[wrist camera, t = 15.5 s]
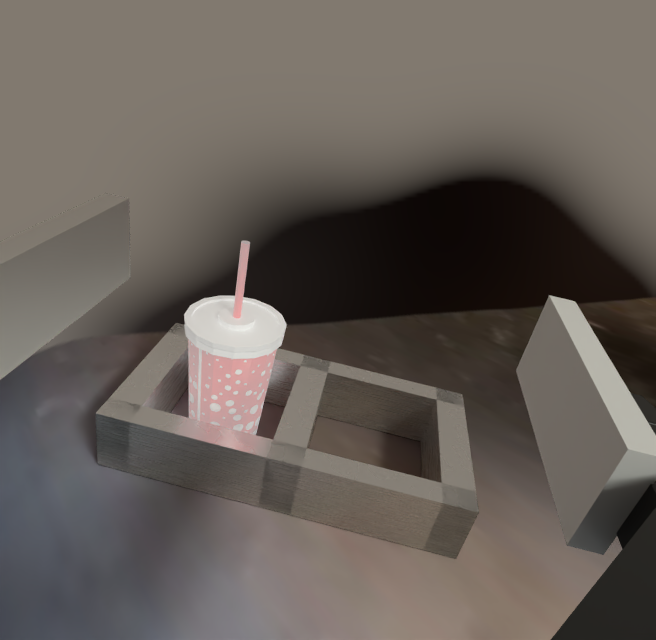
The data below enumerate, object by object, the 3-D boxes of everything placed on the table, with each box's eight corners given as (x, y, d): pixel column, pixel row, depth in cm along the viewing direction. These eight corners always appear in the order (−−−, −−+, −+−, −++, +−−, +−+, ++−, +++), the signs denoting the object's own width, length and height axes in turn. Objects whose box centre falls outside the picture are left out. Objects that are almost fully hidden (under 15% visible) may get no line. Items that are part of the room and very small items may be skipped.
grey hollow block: (446, 434, 39) (462, 394, 37) (456, 558, 30) (478, 512, 28) (173, 365, 40) (176, 322, 38) (97, 464, 31) (95, 413, 29)
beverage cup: (285, 434, 36) (321, 252, 29) (219, 479, 31) (244, 275, 25) (226, 391, 39) (246, 216, 32) (157, 426, 34) (165, 231, 27)
